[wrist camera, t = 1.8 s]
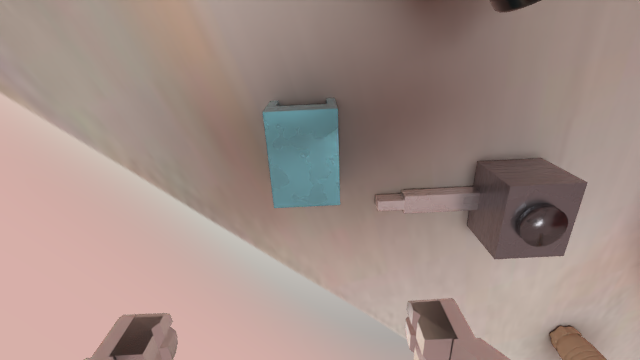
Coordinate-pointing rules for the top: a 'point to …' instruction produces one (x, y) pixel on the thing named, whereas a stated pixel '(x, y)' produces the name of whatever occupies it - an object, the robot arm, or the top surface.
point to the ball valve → (511, 4)
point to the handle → (573, 345)
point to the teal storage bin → (303, 153)
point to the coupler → (507, 206)
